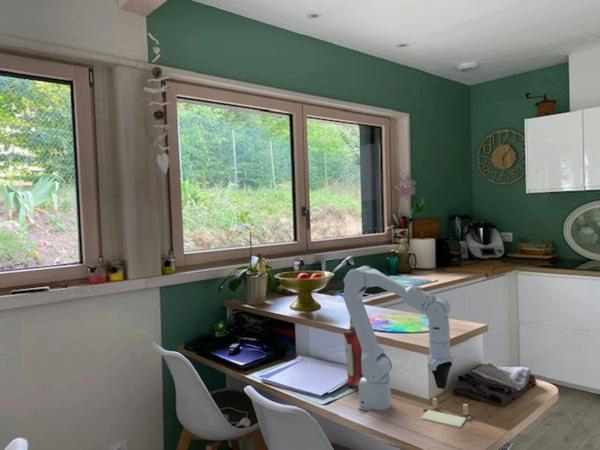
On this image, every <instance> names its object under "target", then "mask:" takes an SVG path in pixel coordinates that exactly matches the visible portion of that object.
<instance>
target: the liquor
mask: <svg viewBox="0 0 600 450" xmlns="http://www.w3.org/2000/svg"><path fill="white" fill-rule="evenodd" d="M343 338H344V349H345V351H344V352H345V360H346V371H347V372H346V373H347V380H348V383H347V384H348V385H349V386H350V387H351V386H352V387H351V388H353V387H357V388H356V389H358V387H359V382H360V380H361V378H362V377H364V375H363V364H362V354H363V351H362V348H361V345H360V342H359V340H358V337H357V334H356V331H355V329H354V326H353V323H352V320H351V318H350V317H349V328H347V329H345V331H343Z"/></svg>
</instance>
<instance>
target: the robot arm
mask: <svg viewBox="0 0 600 450" xmlns="http://www.w3.org/2000/svg"><path fill="white" fill-rule="evenodd" d="M343 283H344V287H343V297H342V298H343V300H344V303H345V307H346V309H347V312H348V314H349V319H350V318H351V320H352V323H353V326H354V329H355V331H356V334H357V337H358V340H359V342H360V345H361V348H362V351H363V354H362V364H363V375H364V377H362V378H361V380H360V382H359V388H357V389H358V405H359V406H358V407H357V408H358V409H359V410H363V411H367V412H370V411H371V410H377V411H384V410H388V409H390V408H391V407H392V398H391V396H392V395H391V394H392V393H391V377H390V372H391V371H392V369H393V363H392V360H391V358H390V357H389V356H388V355H387V353H386V352H385V349H384V348H383V347H381V346H380V345H379V343H378V339H377V337H376V334H375V332H374V329H373V326H372V323H371V321H370V318H369V315H368V312H367V310H366V306H365V304H364V301H363V298H362V297H363V295H364V294H365V292H366V290H367V289H368V288H372V287H379V288H381V289H383V290H386V291H387V292H389V293H392V294H394V295H396V296H398V297H401V298H402V301H403V303H404V304H406V305H407V306H410V307H412V308H413V309H415V310H417V311H419V312H421V313H422V314H424V315H425V316H426V317H427V319H428V339H429V341H428V342H429V343H428V345H429V348H428V349H429V355H428V362H427V370H429V371H431V372H432V376H433V378H434V381H435V384H436V385H435V386H436V387H437V389H442V390H445V389H446V388H447V384H448V378H449V373H450V371H451V369H452V366H453V362H454V361H455V359H456V357H454V356H452V355H453V354H452V352H453V351H452V349H451V336H450V332H451V331H450V323H449V321H450V318H449V316H448V315H449V314H450V313H451V312H450V311H451V305H450V303H449V301H448V300H447V299H445V298H444V297H442V296H437V295H436V294H435V293H434V294H430V293H428V292H426V291H424V290H422V289H421V288H422V287H421V286H419V285H416V286H414V285H410V286H406V285H403V284H402V283H400V282H398V281H396V280H395V279H393V278H391V277H390V276H387V275H385V274H384V273H382V272H381V271H379V270H378V269H376V268H372V267H370V266H369V265H361V266H360V267H358V268H352V269H350V270H348V272H347V273H346V274H345V277H343Z"/></svg>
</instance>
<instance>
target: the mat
mask: <svg viewBox="0 0 600 450" xmlns="http://www.w3.org/2000/svg"><path fill="white" fill-rule="evenodd" d="M431 402H432V409H435V410H437V409H438V398H436V397H433V398H432V401H431ZM468 407H469V406H468V404H467V403H463V405H462V410H463V416H467V417H466V418H467V420H466V421H468V422H471V421H472V416H468V415H469V408H468ZM428 410H429V408H428V407H427V406H425V407H423V412H427V411H428Z"/></svg>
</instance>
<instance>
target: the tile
mask: <svg viewBox="0 0 600 450" xmlns="http://www.w3.org/2000/svg"><path fill="white" fill-rule="evenodd" d="M420 420H423V421H427V422H431V423H437V424H441V425H446V426H449V427H453V428H458V429H462V426H463V425H464V423H466V421H467V417H464V416H459V415H454V414H451V413H450V414H449V413H446V412H445V413H444V412H439V411H434V410H430V409H428V410H427V411H425V413H423V415H422V416H420Z"/></svg>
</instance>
